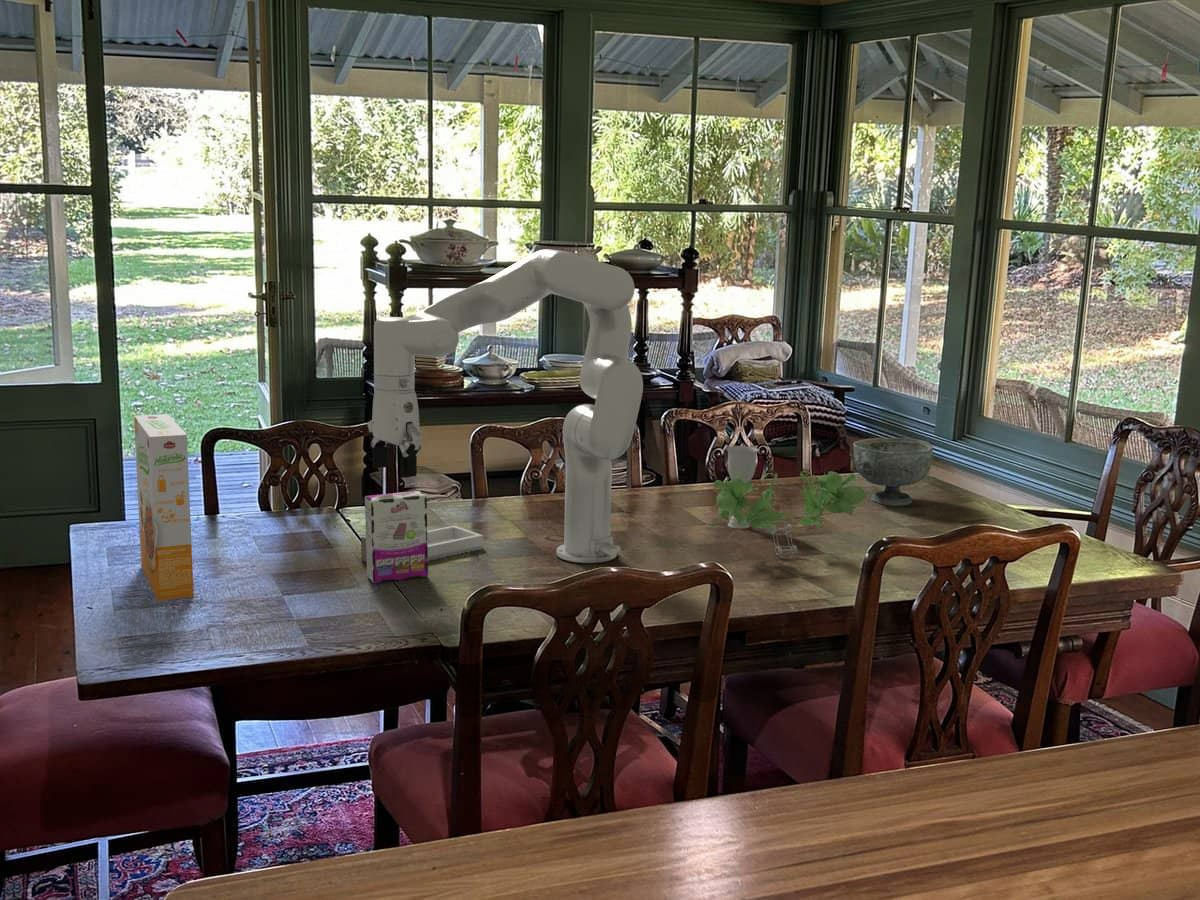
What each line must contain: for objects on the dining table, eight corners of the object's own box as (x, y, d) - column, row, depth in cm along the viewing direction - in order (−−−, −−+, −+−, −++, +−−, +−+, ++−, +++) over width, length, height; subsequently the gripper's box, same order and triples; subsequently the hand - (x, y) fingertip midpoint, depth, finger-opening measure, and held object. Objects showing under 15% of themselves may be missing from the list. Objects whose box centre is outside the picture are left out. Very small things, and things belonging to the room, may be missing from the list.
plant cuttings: (692, 582, 262) (730, 544, 243) (676, 508, 268) (711, 465, 249) (837, 570, 273) (884, 533, 254) (818, 500, 280) (862, 458, 261)
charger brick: (389, 560, 249) (389, 530, 247) (375, 564, 245) (374, 534, 244) (376, 556, 251) (375, 527, 250) (361, 560, 248) (361, 531, 246)
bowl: (847, 490, 321) (851, 433, 318) (923, 494, 318) (928, 437, 315) (852, 508, 301) (856, 448, 298) (933, 513, 299) (938, 452, 296)
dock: (483, 549, 258) (483, 535, 257) (420, 562, 247) (420, 548, 247) (454, 538, 265) (454, 525, 264) (392, 551, 254) (392, 537, 254)
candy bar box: (420, 570, 242) (419, 489, 239) (428, 577, 238) (428, 495, 235) (364, 577, 237) (363, 494, 234) (372, 584, 233) (371, 500, 230)
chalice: (719, 527, 281) (722, 450, 277) (727, 520, 287) (731, 444, 283) (750, 531, 278) (754, 453, 274) (758, 524, 284) (762, 448, 280)
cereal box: (141, 566, 240) (133, 415, 234) (174, 562, 243) (168, 413, 237) (157, 600, 220) (149, 436, 214) (193, 596, 223) (186, 434, 217)
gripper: (437, 387, 227) (436, 477, 230) (386, 376, 240) (386, 461, 243) (402, 390, 222) (402, 483, 225) (352, 378, 235) (353, 466, 238)
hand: (394, 471), depth 234 cm, fingers open, 9 cm apart
